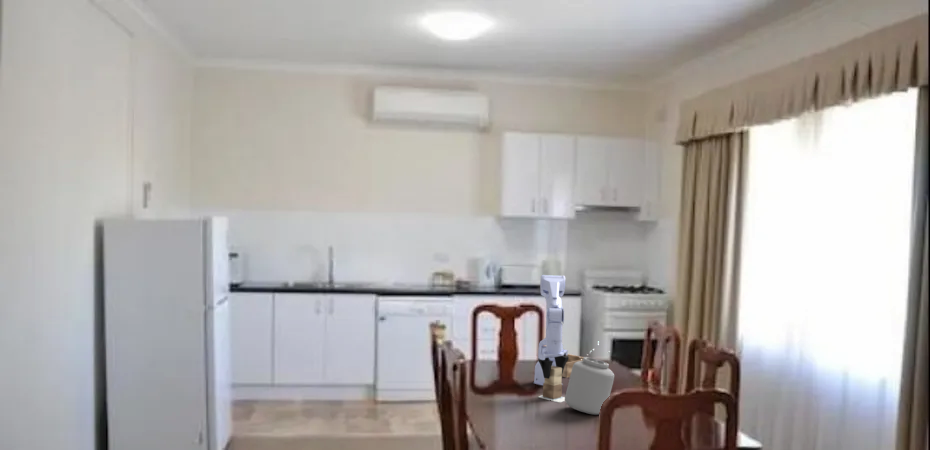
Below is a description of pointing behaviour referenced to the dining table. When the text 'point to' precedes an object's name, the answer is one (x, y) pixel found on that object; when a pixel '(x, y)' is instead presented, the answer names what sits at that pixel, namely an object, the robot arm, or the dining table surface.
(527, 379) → the dining table surface
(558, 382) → the maple block
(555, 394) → the walnut block
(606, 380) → the jar
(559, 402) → the white flat plate
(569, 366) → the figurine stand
